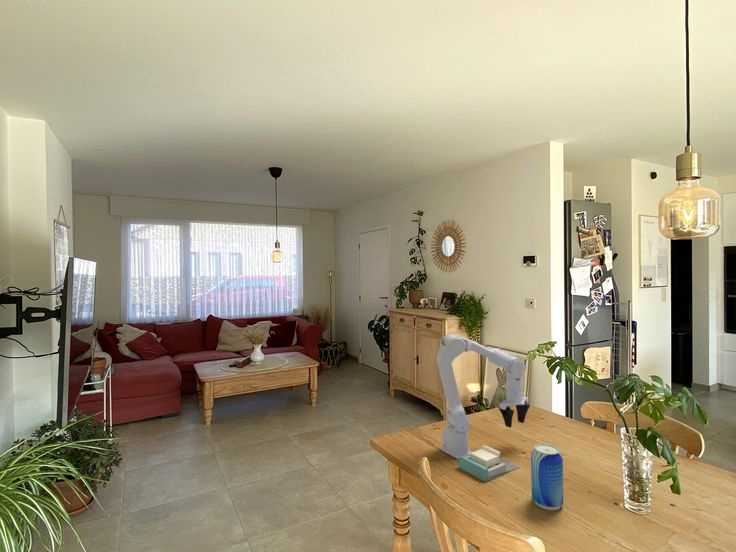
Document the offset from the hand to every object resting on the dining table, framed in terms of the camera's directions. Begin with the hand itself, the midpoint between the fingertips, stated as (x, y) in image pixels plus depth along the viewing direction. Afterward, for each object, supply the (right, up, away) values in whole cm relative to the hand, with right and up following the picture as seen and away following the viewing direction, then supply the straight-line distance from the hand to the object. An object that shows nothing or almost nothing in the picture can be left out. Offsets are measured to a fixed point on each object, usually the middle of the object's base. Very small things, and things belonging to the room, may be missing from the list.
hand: (514, 424), depth 152 cm
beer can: (-4, -10, -36) cm, 37 cm away
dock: (-14, -10, -14) cm, 22 cm away
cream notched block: (-16, -9, -15) cm, 23 cm away
